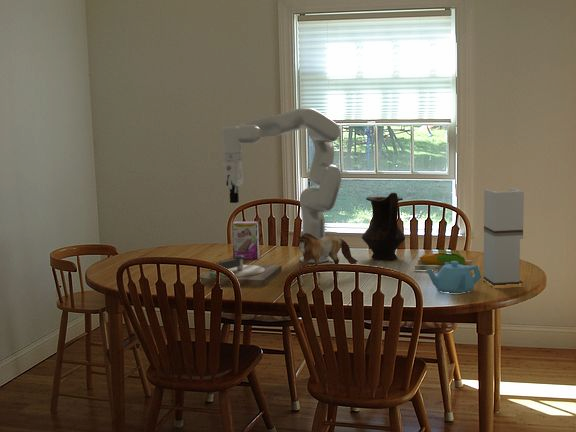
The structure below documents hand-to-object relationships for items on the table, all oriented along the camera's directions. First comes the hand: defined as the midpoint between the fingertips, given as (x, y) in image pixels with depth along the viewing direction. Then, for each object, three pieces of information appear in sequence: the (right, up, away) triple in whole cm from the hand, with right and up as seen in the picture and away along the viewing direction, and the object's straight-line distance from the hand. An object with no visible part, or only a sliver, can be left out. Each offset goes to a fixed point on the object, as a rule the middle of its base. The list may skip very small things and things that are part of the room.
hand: (234, 202), depth 324 cm
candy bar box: (+3, -25, +32) cm, 41 cm away
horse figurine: (+38, -31, -16) cm, 51 cm away
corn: (+84, -27, +1) cm, 88 cm away
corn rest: (+85, -27, 0) cm, 89 cm away
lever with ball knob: (0, -27, -8) cm, 28 cm away
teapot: (+82, -33, -34) cm, 94 cm away
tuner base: (+3, -30, -4) cm, 30 cm away
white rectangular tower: (+101, -31, -27) cm, 109 cm away
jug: (+63, -24, +21) cm, 71 cm away
